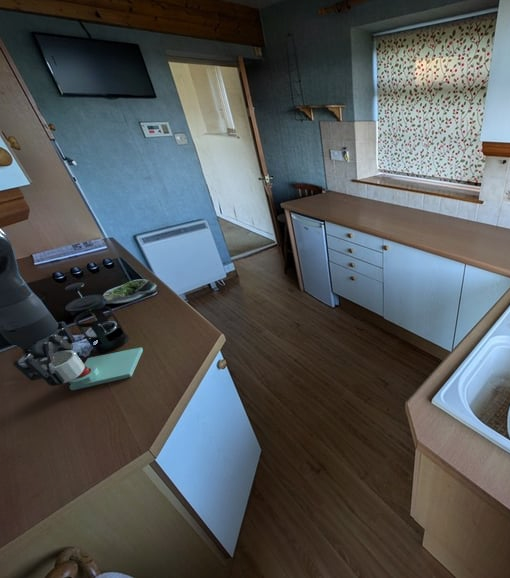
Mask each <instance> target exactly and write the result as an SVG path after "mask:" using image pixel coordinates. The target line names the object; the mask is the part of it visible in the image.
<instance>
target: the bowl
mask: <svg viewBox="0 0 510 578" xmlns="http://www.w3.org/2000/svg"><path fill="white" fill-rule="evenodd" d="M54 356H55V362H54V363H53V364H54V368H55V371H57V372H58V373H59V374H60V376H61V377H62V378H63V379H64V382H63V384H65V383H66V384H67V383H70V382H69V381H71V380H73V379H75V378H76V377H78V376H79V375H80V374H81V373H82V372H83V370H84V368H85V365H84V364H85V363H84V362H83V361H82V359H81V358H80V357H79V355H78V354H77V353H76V351H74V350H73V351H72V350H64V351H59V352H58V351H55V353H54ZM44 360H47V358H42V359H40V361H44ZM42 367H43V368H44V369H47V366H46V365H45V364H44V365H42Z"/></svg>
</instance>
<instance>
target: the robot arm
mask: <svg viewBox="0 0 510 578" xmlns="http://www.w3.org/2000/svg"><path fill="white" fill-rule="evenodd" d="M19 268H20V267H19V264H18V262H17V258H16V254H15V251H14V246H13V244H12V241H11V240H10V238H9V236H8V235H7V233H6V232H5V231H4V230H3V229H1V228H0V334H1V336H2V337H3V338H4V339H5V340H6V342H8V343H9V344H10V345H12V346H13V345H14V346H16V347H19V348H20V349H21V351H22V354H23V355H22V357H21V358H19V359H15V360H14V361H13V362H12V363H13V366H14V367H15V368H16V369H18V370H19V372H21V373H22V374H23V375H24V376H25V377H26V378H27V379H29V380H30V381H37V380H40V379H43V380H44V382H46V383H47V385H49V386H50V387H55V386H61V385H63V384H64V383H63V382H64V379H63V378H62V377H61V376H60V374H59V373H58V372H57V371H55V368H54V364H53V363H54V362H55V356H54V353H56V352H59V351H64V350H72V351H74V349H73V348H74V346H73V344H74V343H75V342H76V338H75V336H74V335H73V333H72V332H71V330H70V328H69V327H68V325H67V323H66V322H65V321H58V322H57V320H56V319H55V318H54V316H53V315H52V313H51V312H50V311H49V309H48V308H47V307H46V305H45V304H44V303H43V301H42V300H41V298H39V296H37V294H35V292H34V291H33V290H32V289H31V288H30V286H29V285H28V284H27V282H26V281H25V279H24V278H23V277H22V276H21V273H20V270H19ZM64 337H66V338H64ZM44 358H47V360H44V361H41V360H42V359H44ZM44 364H45V365H46V366H47V369H44V368H43V367H42V365H44Z"/></svg>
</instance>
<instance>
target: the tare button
mask: <svg viewBox="0 0 510 578" xmlns="http://www.w3.org/2000/svg"><path fill="white" fill-rule="evenodd" d="M89 373H90V370H89V369H88V367H86V366H85V368H84V370H83V372H82V373H81V374H80V375H79V376H78V377H76V378H82V377H84V376H86V375H87V374H89Z"/></svg>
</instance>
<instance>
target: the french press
mask: <svg viewBox="0 0 510 578" xmlns="http://www.w3.org/2000/svg"><path fill="white" fill-rule="evenodd" d="M84 286H85V283H84V282H75V283H71V284H69V285H67V286H66V287H65V288H64V290H65V291H75V292H76V293H77V294H78V295H79V297H78V298H76V299H73V300H72V301H71V302H69V303H68V304H67V305H66V306H65V311H67V312H69V313H70V314H71V316H76V317H75V318H74V320H73V322H74V323H75V325H76V326H77V328H78V329H79V331H80V332H81V333H82V335H83V336H84V338H85V339H86V341H87V342H88V343H89V345H90V346H91V348H92V351H93V352H94V353H96V354H106V353H110V352H112V351H115V350H117V349H119V348H122V347H123V346H124V345H126V343H128V341H129V338H130V337H129V335H128V334H127V333H126V331H125V329H124V328H123V326H122V324H121V323H120V322H119V320H118V318H117V316H116V315H115V313H114V311H113V309H112V308H111V307H108V306H106V304H105V301H106V300H105V299H104V296H103V294H89V295H85V296H83V295H82V294H81V292H80V288H83V287H84ZM103 311H108V314H106V315H105V313H104V312H103ZM80 312H81V313H80ZM79 313H80V314H79ZM77 314H78V315H77ZM89 315H92V317H93V318H94V321H91V322H86V323H85V322H84V323H80V320H82V319H84V318H85V317H86V316H89ZM111 318H113V319H114V320H109V319H111ZM84 328H88V329H87V330H86V331H85V330H84ZM114 337H116V338H115V339H113V340H111V341H110V340H109V339H111V338H114ZM96 340H98V343H97V344H96V345H93V342H94V341H96Z"/></svg>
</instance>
